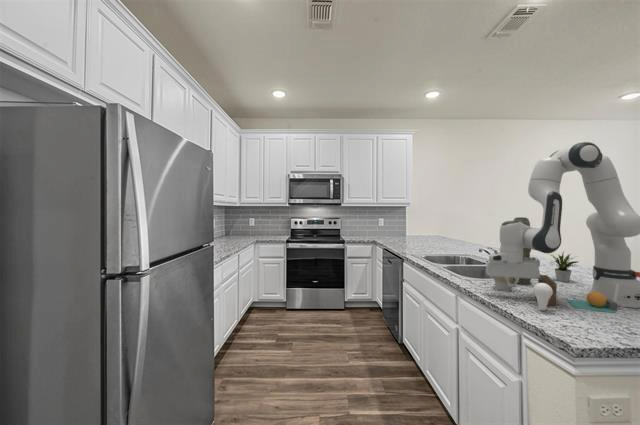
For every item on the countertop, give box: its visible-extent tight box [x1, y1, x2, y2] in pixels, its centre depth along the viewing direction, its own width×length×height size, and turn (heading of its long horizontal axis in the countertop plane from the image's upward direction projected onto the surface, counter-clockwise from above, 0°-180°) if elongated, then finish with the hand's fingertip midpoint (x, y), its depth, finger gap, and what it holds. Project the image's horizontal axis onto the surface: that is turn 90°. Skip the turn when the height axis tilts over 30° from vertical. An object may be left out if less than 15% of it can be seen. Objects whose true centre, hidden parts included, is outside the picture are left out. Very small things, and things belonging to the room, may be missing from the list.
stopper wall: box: [604, 299, 618, 312], centre depth 115 cm, size 2×6×3 cm, turn 154°
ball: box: [585, 291, 607, 307], centre depth 117 cm, size 6×6×6 cm
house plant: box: [549, 251, 579, 283], centre depth 156 cm, size 14×14×16 cm
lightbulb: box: [532, 283, 553, 312], centre depth 113 cm, size 6×6×11 cm
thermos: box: [512, 216, 532, 286], centre depth 152 cm, size 9×12×35 cm
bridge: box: [537, 274, 558, 308], centre depth 124 cm, size 3×15×10 cm, turn 154°
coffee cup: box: [493, 276, 513, 292], centre depth 142 cm, size 9×9×15 cm
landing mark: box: [565, 298, 617, 314], centre depth 118 cm, size 12×12×1 cm
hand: (512, 286), depth 129 cm, fingers closed
